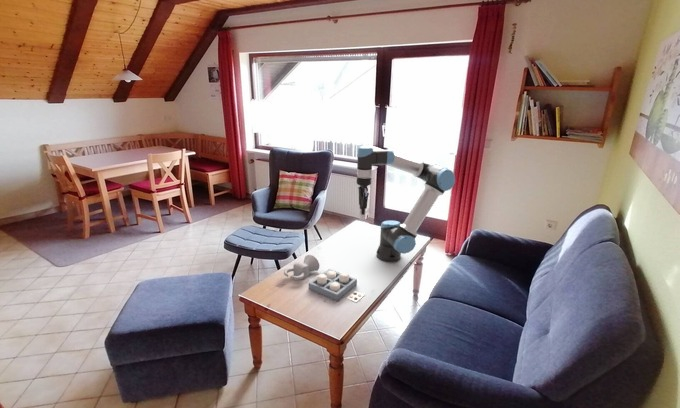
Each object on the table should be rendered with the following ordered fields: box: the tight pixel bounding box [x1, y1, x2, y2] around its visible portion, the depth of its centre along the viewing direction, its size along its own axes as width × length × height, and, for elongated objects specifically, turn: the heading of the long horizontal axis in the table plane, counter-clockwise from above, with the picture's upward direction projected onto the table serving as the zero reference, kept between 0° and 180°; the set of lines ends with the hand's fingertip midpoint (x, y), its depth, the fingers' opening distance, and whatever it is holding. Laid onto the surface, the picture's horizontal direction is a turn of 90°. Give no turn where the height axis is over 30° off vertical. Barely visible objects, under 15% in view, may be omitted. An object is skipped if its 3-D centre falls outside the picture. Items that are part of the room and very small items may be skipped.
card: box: [345, 290, 365, 304], centre depth 171 cm, size 8×6×1 cm
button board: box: [308, 268, 358, 303], centre depth 178 cm, size 18×18×4 cm
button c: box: [339, 271, 350, 284], centre depth 178 cm, size 5×5×4 cm
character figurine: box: [283, 254, 320, 281], centre depth 188 cm, size 13×9×20 cm
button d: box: [326, 270, 337, 280], centre depth 183 cm, size 5×5×4 cm
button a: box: [330, 282, 340, 292], centre depth 172 cm, size 5×5×4 cm
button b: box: [316, 273, 327, 286], centre depth 176 cm, size 5×5×4 cm
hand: (362, 219), depth 184 cm, fingers closed
